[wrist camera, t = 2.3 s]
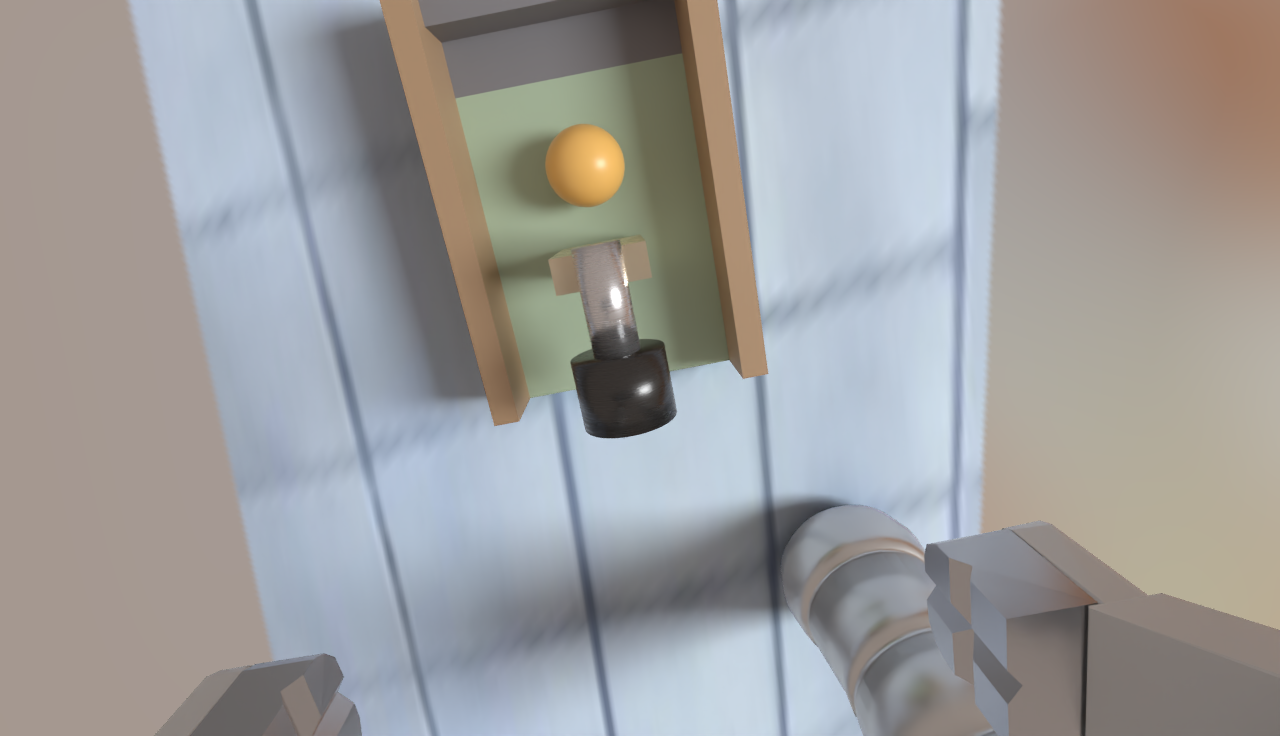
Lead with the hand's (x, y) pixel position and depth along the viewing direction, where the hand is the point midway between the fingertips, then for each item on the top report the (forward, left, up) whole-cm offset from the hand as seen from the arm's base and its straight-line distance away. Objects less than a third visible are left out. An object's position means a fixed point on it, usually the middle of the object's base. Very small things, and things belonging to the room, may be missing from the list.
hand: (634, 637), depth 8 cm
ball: (+7, 0, -17) cm, 18 cm away
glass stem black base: (+2, 0, -18) cm, 18 cm away
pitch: (+6, 0, -19) cm, 20 cm away
